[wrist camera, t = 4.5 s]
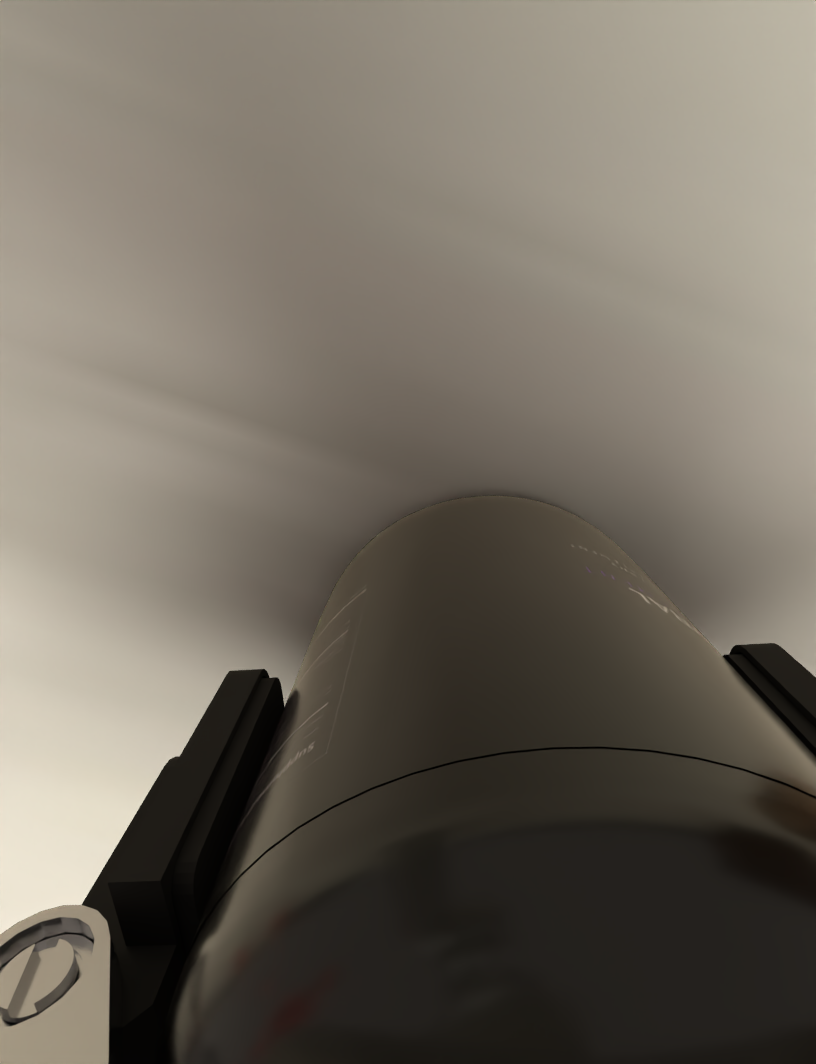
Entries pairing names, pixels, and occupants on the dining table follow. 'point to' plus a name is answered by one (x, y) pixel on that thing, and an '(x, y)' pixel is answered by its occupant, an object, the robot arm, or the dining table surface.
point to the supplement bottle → (511, 826)
